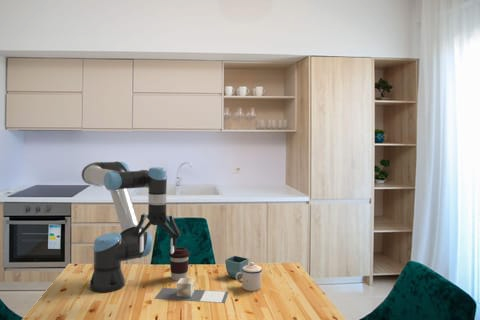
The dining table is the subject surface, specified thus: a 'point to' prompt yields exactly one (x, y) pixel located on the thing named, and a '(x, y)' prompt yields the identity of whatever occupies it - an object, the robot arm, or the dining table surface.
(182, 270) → the coffee cup
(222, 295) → the charcoal mat
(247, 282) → the teacup with lid
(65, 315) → the dining table surface
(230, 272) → the flower pot
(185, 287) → the birch cube
